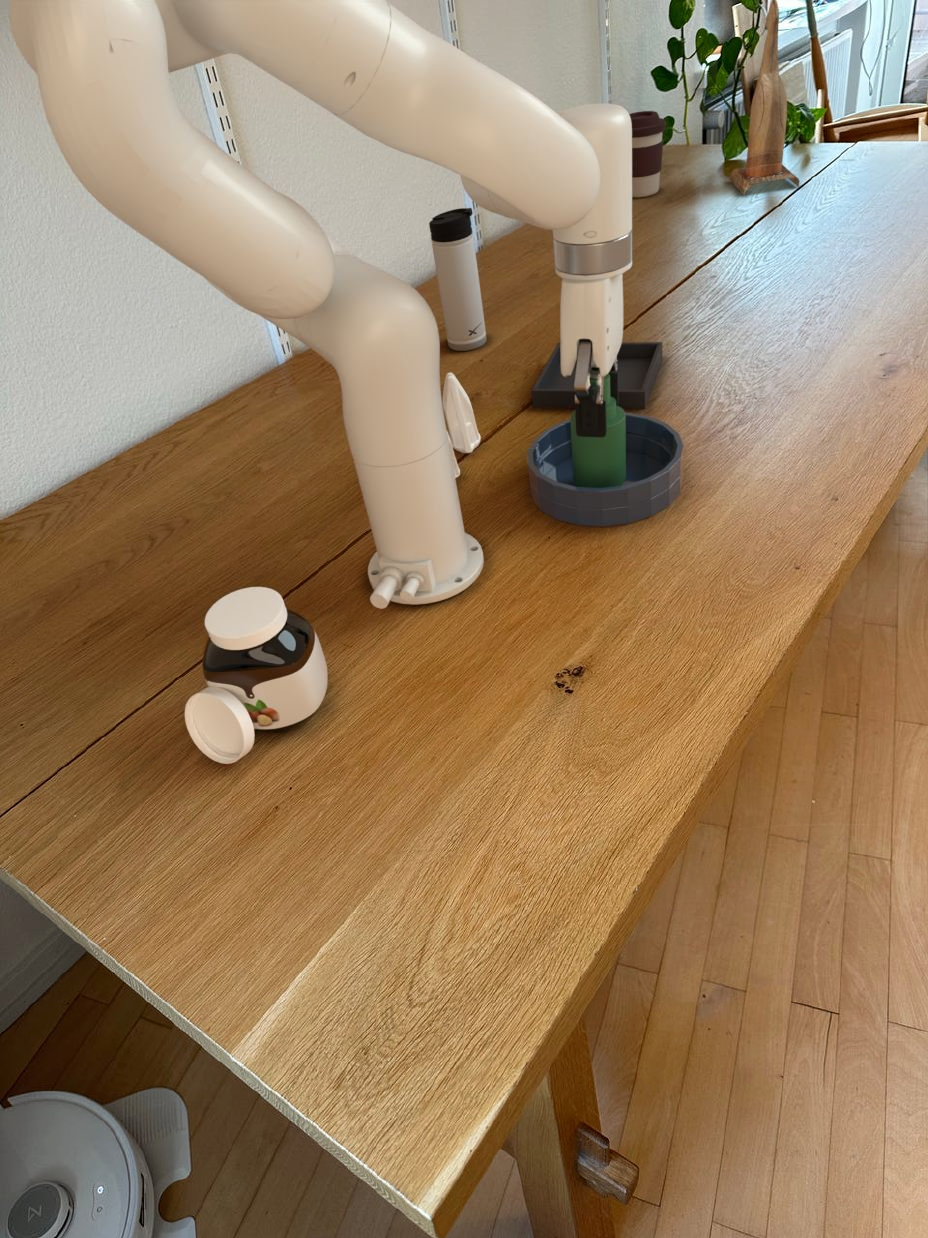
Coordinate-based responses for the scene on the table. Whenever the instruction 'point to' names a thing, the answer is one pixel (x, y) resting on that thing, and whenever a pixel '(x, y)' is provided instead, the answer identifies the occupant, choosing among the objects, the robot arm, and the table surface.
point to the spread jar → (254, 674)
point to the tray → (633, 369)
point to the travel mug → (458, 279)
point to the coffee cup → (646, 152)
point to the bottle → (601, 448)
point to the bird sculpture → (766, 118)
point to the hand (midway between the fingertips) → (597, 419)
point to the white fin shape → (459, 419)
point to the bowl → (639, 497)
